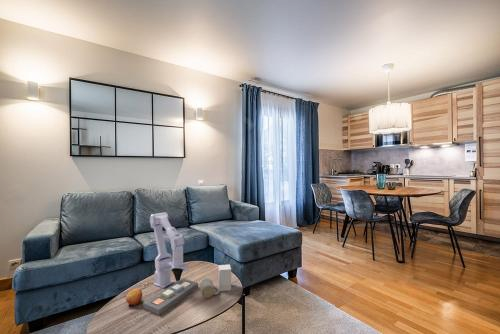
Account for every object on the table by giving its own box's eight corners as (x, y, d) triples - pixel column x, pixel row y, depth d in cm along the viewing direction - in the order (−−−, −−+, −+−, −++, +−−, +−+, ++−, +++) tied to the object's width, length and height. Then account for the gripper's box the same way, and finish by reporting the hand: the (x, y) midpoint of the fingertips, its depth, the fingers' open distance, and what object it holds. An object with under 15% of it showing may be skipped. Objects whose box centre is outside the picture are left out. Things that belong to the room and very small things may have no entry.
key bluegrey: (171, 290, 131) (171, 287, 131) (177, 287, 135) (177, 283, 135) (176, 292, 129) (176, 289, 129) (182, 289, 133) (182, 285, 133)
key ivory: (179, 288, 137) (179, 284, 137) (185, 284, 141) (185, 281, 141) (185, 290, 135) (185, 286, 135) (190, 286, 139) (190, 283, 139)
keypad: (142, 308, 120) (142, 302, 120) (183, 283, 145) (183, 278, 145) (158, 315, 114) (158, 309, 114) (198, 287, 139) (198, 283, 139)
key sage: (162, 296, 126) (162, 293, 126) (168, 292, 130) (168, 289, 130) (167, 298, 124) (167, 295, 124) (174, 294, 128) (174, 291, 128)
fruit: (148, 295, 129) (142, 287, 125) (139, 310, 123) (132, 301, 119) (137, 293, 132) (131, 284, 128) (127, 307, 125) (120, 298, 121)
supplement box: (231, 290, 137) (231, 269, 136) (218, 291, 135) (218, 270, 135) (230, 284, 144) (230, 264, 144) (218, 285, 143) (218, 264, 142)
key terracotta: (151, 306, 120) (151, 302, 120) (158, 301, 124) (158, 297, 124) (157, 308, 118) (157, 304, 118) (164, 303, 122) (164, 300, 122)
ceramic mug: (201, 300, 127) (202, 286, 127) (199, 292, 135) (199, 279, 135) (220, 296, 131) (220, 283, 131) (217, 289, 138) (217, 276, 138)
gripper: (163, 257, 133) (163, 280, 133) (182, 261, 126) (182, 286, 126) (172, 252, 139) (172, 275, 139) (191, 257, 132) (191, 280, 132)
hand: (178, 280), depth 133 cm, fingers closed
